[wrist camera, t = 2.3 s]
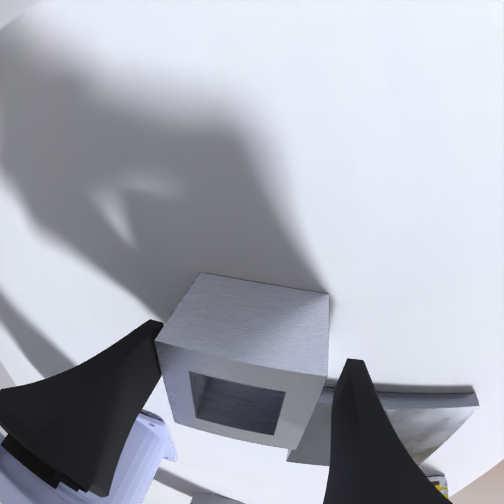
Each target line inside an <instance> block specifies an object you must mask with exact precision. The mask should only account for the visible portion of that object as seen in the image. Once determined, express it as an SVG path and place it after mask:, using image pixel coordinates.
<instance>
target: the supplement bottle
mask: <svg viewBox="0 0 504 504" xmlns="http://www.w3.org/2000/svg"><path fill="white" fill-rule="evenodd" d="M427 478H428V479H429V480H430V481H431V483H432V484H433V485H434V486H435V487H436V488H437V489H438V490H439V491H440V492H441V493H442V494H443V495H444V496H445V497H446V498H447V499H448V487H447V480H446V478H444V477H441V476H433V477H427Z"/></svg>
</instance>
